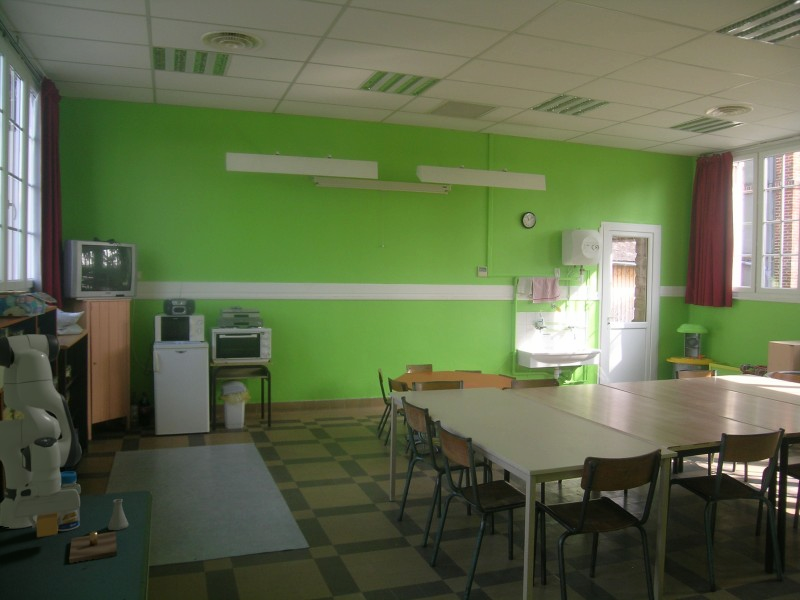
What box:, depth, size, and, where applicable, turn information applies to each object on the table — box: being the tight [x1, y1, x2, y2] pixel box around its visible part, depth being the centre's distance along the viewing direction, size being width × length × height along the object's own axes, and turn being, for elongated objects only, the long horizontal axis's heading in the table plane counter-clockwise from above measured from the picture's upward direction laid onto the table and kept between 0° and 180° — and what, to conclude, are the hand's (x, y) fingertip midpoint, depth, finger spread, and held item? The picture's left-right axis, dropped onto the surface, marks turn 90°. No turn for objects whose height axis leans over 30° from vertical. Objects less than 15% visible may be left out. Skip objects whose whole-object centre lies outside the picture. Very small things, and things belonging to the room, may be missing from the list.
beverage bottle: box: [58, 470, 81, 532], centre depth 238 cm, size 8×8×20 cm
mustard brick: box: [36, 513, 58, 538], centre depth 221 cm, size 6×6×6 cm
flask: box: [107, 498, 130, 531], centre depth 238 cm, size 7×7×10 cm
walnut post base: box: [68, 531, 118, 564], centre depth 219 cm, size 18×14×6 cm
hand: (47, 525), depth 221 cm, fingers closed on mustard brick, 6 cm apart
